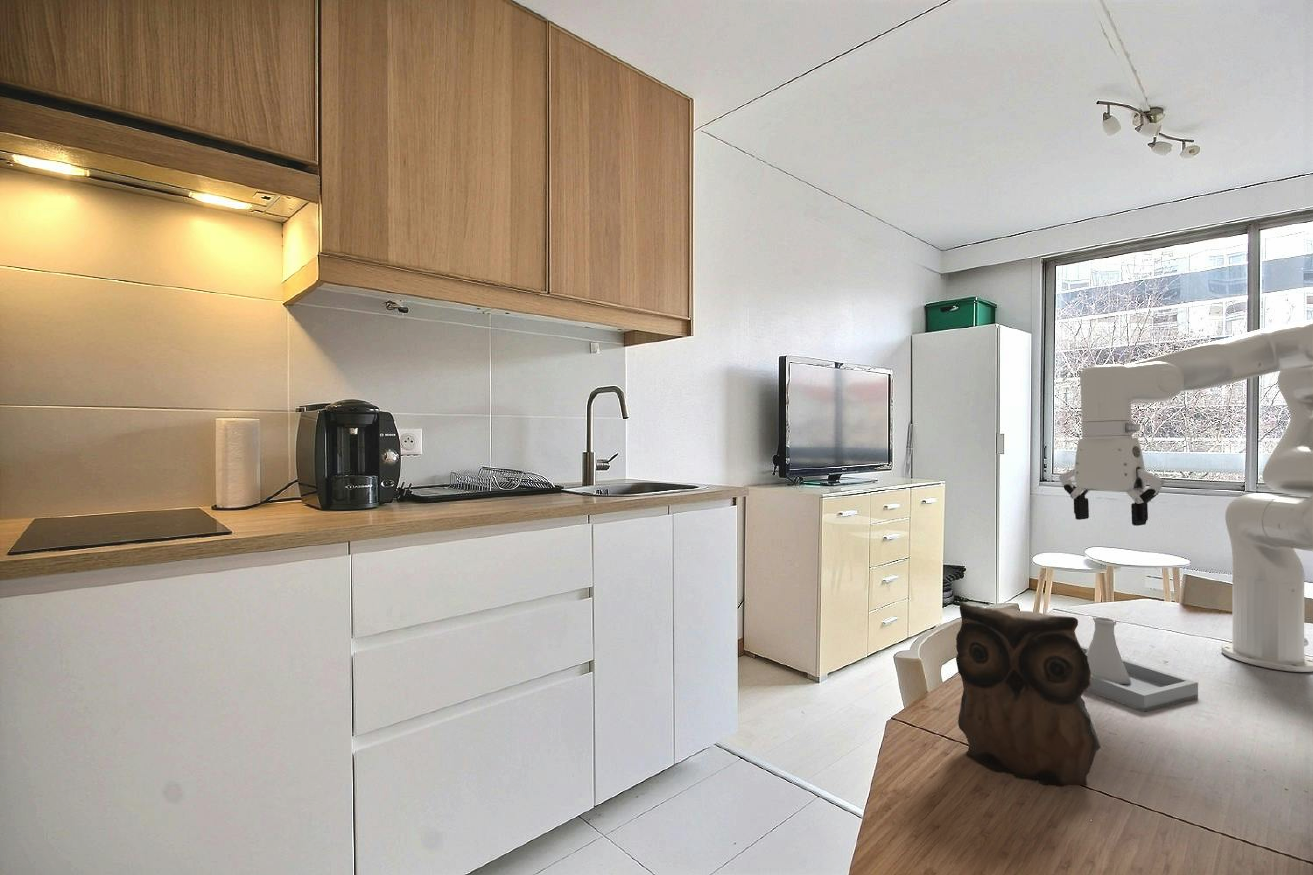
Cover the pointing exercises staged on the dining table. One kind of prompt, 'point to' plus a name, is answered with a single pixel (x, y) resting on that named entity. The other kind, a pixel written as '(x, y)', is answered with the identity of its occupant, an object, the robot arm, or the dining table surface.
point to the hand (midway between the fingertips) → (1109, 521)
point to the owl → (1025, 695)
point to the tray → (1145, 688)
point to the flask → (1106, 653)
